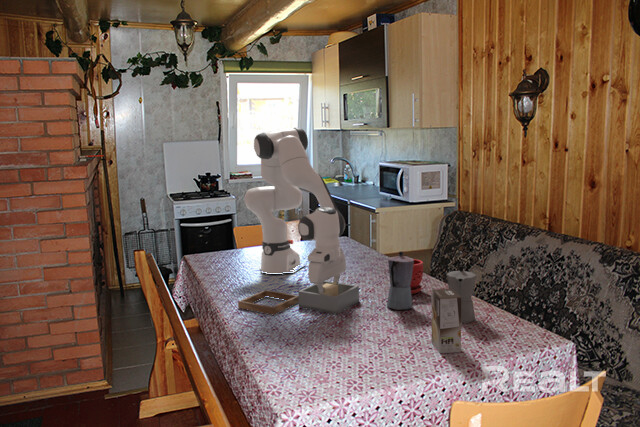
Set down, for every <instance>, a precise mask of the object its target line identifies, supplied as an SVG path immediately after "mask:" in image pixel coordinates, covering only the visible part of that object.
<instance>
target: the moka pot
mask: <svg viewBox="0 0 640 427" xmlns="http://www.w3.org/2000/svg"><path fill="white" fill-rule="evenodd" d="M398 254H399V255H397V256H391V257H390V256H389V257H388V258H387V259H388V262H387V263H388V272H389V281H390V283H389V290H388V291H389V292H388V296H387V303H386V306H387V307H388V308H389V309H392V310H398V311H399V310H400V311H402V310H403V311H404V310H410V309H412V308H413V299H412V296H413V295H412V294H411V287H410V284H411V278H412V271H413V264H414V260H413V259H414V258H412V257H410V256H406V255H405V256H404V251H399V252H398Z"/></svg>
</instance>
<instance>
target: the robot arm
mask: <svg viewBox="0 0 640 427" xmlns="http://www.w3.org/2000/svg"><path fill="white" fill-rule="evenodd" d="M308 139H309V138H308V135H307V132H306V131H305V130H304V129H303V128H301V127H293V128H281V129H276V130H271V131H268V132H261V133H258V134H256V136H255V137H254V139H253V149H254V152H255V155H256V156H257V158H259V159H260V174H261V175H260V176H261V178H262V179H263V180H264V181H265V182H266V183H268V184H270V186H269V185H268V186H257V187H253V188H249V189H247V190H246V192H245V195H244V200H243V201H244V204H245V207H246V208H247V209H248V210H249V211H251V212H252V213H253V214H255V216H257V219H258V220H259V222H260V225H261V230H262V242H261V246H262V247H261V249H262V252H261V262H260V264H261V265H260V267H261V270H262V271H263V272H267V273H283V272H293V271H290V270H294V269H293V268H295V267H296V266H298V265H300V263H301V257H300V254H299V253H298V252H296V250H294V249H292V247H291V245H293V244H294V240H293V239H288V225H287V222H286V221H285V220H284V219H282V218H279V217H277V216H275V215H274V214H273V212H275V211H289V210H293V209H298V208H299V207H300V206H301V205H302V202H303V194H302V191H301V189H303V190H306V191H308V192H310V193H312V194H313V196H315V197H316V199H317V202H318V204H319V206H320V207H317V208H316V209H315V210H314V211H313V212H312V213H309V214H307V215H302V216H301V218H300V219H299V222H298V224H297V227H298V234H299V236H300V237H301V238H302V239H304V240H305V241H315V248H313V250H312V251H311V252H310V253H309V254H308V256H307V260H308V262H309V263H308V280H309V282H310V283H311V284H316V285H317V287H318V288H319V293H321V294H323V293H325V288H323V282H324V281H328V280H331V279H333V281H331V282H332V284H335V285H338V283H339V282H340V278H341V275H342V273H344V272H346V269H347V264H346V256H345V254H344V250H343V249H342V248H341V242H340V236H342V235H343V234H344V231H345V229H346V220H345V218H344V216H343V214H342V213H341V212H340V210H339V209H338V206H337V205H336V203H335V201H334V200H335V199H333V196H332V194H331V192H330V190H329V188H328V186H327V183H326V182H325V180H324V178H323V177H322V175H320V174H319V173H318V172H316V170H315V169H314V168H313V166H312V165H311V163H310V160H309V157H308V155H307V152H306V150H307V149H308V147H309V140H308ZM261 270H260V271H261ZM294 271H295V270H294Z"/></svg>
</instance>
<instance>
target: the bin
mask: <svg viewBox="0 0 640 427" xmlns="http://www.w3.org/2000/svg"><path fill="white" fill-rule="evenodd" d="M332 282H333V281H330V280H329V281H328V280H326V281H324V282H323V285H324V284H326V283H328V284H332ZM359 287H360V286H359V285H355V284H348V283H342V282H338V295H337V296H330V295H324V294H319V288H318V287H317V285H316V284H314V283H312V284H311V285H309V286H307V287H305V288H302V289H300V290H298V291H297V293H298V294H297V295H298V301H299V303H298V308H299V307H302V308H301V309H305V308H307V309H306V310H310V309H311V311H317V312H323V313H327V314H332V315H338V314H340V313H341V312H344V311H345V310H346V309H348V308H350V307H352V306H353V305H355V304H357V303H359V302H360V288H359Z"/></svg>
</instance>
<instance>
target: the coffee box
mask: <svg viewBox="0 0 640 427" xmlns="http://www.w3.org/2000/svg"><path fill="white" fill-rule="evenodd" d="M431 343H432V345H433V346H434V347H435V349H436V350H437V351H438V353H439V354H449V353H450V354H452V353H461V350H462V323H461V297H460V296H459V295H458V294H457V293H456V292H455V291H453V290H452V289H449V288H439V289H431Z"/></svg>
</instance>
